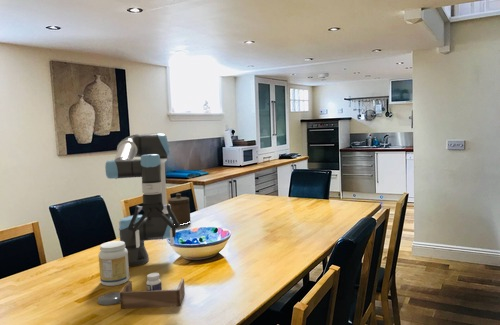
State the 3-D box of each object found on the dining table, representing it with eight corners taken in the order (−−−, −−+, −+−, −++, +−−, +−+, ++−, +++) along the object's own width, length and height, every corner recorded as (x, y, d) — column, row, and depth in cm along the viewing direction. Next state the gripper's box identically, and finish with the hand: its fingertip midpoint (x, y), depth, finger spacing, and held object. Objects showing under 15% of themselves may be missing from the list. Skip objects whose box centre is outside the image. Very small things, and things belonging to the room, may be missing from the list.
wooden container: (173, 221, 290) (171, 191, 289) (193, 221, 288) (191, 191, 286) (166, 226, 276) (164, 195, 274) (187, 226, 274) (185, 194, 272)
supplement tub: (107, 276, 181) (104, 240, 180) (133, 276, 181) (131, 239, 180) (95, 287, 169) (93, 248, 168) (124, 286, 169) (121, 247, 167)
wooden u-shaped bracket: (130, 295, 159) (129, 280, 159) (184, 292, 160) (183, 278, 159) (120, 308, 147) (119, 293, 147) (180, 306, 148) (179, 290, 147)
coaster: (103, 294, 162) (103, 292, 162) (130, 292, 162) (130, 291, 162) (93, 305, 151) (93, 304, 151) (122, 304, 151) (122, 303, 151)
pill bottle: (163, 296, 157) (162, 271, 157) (160, 302, 152) (159, 276, 151) (148, 296, 157) (147, 272, 157) (145, 302, 152) (144, 277, 151)
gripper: (117, 195, 153) (121, 250, 154) (182, 192, 154) (185, 246, 155) (123, 193, 161) (126, 245, 162) (185, 190, 161) (187, 242, 162)
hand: (155, 246), depth 158 cm, fingers open, 13 cm apart
